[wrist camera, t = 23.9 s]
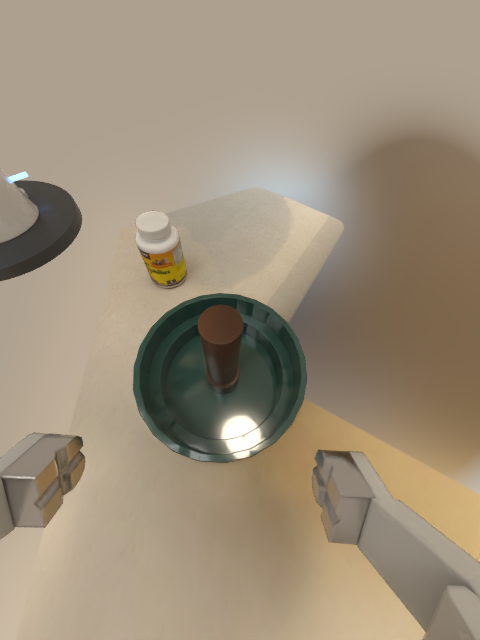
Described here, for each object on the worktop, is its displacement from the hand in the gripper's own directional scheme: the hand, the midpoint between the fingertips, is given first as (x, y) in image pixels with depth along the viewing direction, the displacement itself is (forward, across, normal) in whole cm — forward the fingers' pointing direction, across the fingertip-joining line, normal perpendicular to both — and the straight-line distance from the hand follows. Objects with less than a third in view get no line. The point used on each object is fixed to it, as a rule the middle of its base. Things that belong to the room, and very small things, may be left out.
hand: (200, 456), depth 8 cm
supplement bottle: (+31, +10, -3) cm, 32 cm away
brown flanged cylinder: (+19, 0, +8) cm, 20 cm away
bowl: (+19, 0, +8) cm, 21 cm away
